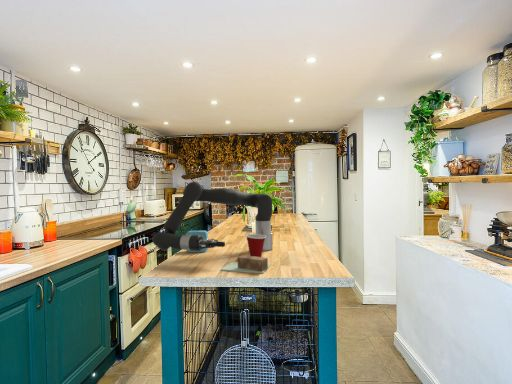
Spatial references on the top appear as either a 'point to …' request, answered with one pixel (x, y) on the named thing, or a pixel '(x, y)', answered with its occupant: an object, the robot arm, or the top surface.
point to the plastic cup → (255, 244)
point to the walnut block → (253, 263)
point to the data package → (201, 233)
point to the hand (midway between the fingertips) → (224, 244)
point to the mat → (234, 267)
